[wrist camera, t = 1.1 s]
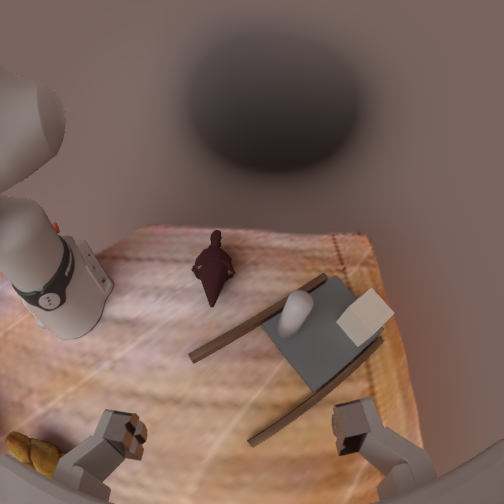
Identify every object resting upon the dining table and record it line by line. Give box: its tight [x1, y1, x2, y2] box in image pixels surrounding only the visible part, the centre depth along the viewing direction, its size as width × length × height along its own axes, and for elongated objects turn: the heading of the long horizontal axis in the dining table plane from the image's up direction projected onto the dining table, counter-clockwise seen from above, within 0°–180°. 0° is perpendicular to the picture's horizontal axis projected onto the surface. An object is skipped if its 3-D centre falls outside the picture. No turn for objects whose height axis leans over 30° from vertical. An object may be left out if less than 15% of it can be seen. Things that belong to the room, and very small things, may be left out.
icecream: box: [192, 230, 235, 307], centre depth 47 cm, size 7×7×15 cm
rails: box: [188, 273, 384, 447], centre depth 41 cm, size 17×28×2 cm, turn 125°
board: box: [261, 276, 384, 392], centre depth 40 cm, size 14×18×11 cm
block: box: [336, 288, 394, 347], centre depth 42 cm, size 6×6×6 cm
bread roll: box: [6, 432, 65, 479], centre depth 20 cm, size 13×10×8 cm
